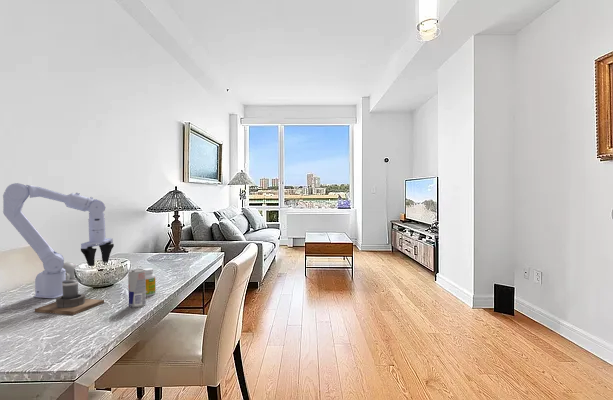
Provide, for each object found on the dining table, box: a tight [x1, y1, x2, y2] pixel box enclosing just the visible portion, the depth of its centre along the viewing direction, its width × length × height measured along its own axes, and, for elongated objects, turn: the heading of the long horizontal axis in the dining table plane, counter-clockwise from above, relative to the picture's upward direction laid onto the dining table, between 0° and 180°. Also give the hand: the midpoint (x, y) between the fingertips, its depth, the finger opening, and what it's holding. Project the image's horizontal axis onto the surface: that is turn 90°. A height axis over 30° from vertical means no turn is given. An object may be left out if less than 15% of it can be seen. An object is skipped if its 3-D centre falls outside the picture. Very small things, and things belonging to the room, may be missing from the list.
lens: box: [62, 278, 79, 300], centre depth 125 cm, size 4×4×8 cm
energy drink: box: [127, 268, 147, 309], centre depth 127 cm, size 5×5×12 cm
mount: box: [34, 293, 105, 316], centre depth 125 cm, size 15×13×4 cm
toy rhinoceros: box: [63, 261, 77, 280], centre depth 158 cm, size 7×12×8 cm, turn 13°
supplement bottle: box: [142, 267, 156, 297], centre depth 140 cm, size 5×5×10 cm
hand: (98, 263), depth 147 cm, fingers open, 7 cm apart
